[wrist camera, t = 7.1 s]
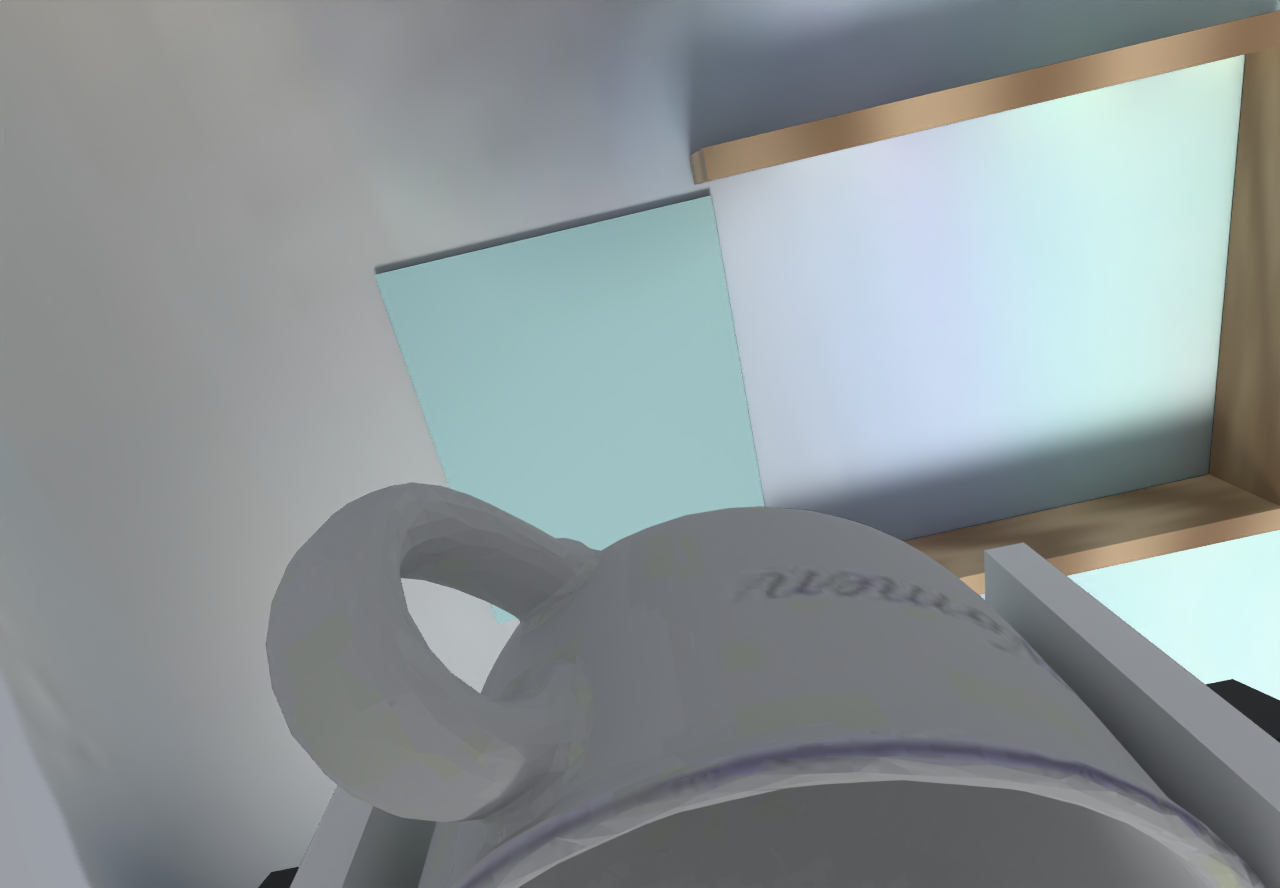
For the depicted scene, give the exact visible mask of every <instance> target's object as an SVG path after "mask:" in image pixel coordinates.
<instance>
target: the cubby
mask: <svg viewBox="0 0 1280 888" xmlns="http://www.w3.org/2000/svg"><path fill="white" fill-rule="evenodd" d="M1243 54H1246V60H1245V71H1244V83H1243V94H1242V105H1241V116H1240V128H1239V139H1238V150H1237V162H1236V173H1235V184H1234V196H1233V207H1232V218H1231V230H1230V241H1229V252H1228V264H1227V275H1226V286H1225V298H1224V309H1223V320H1222V332H1221V343H1220V354H1219V366H1218V377H1217V388H1216V399H1215V411H1214V422H1213V433H1212V445H1211V456H1210V467H1209V474H1208V475H1203V476H1199V477H1194V478H1190V479H1185V480H1181V481H1176V482H1171V483H1167V484H1162V485H1158V486H1153V487H1149V488H1144V489H1140V490H1135V491H1130V492H1126V493H1121V494H1117V495H1112V496H1108V497H1103V498H1098V499H1094V500H1089V501H1085V502H1080V503H1076V504H1071V505H1067V506H1062V507H1057V508H1053V509H1048V510H1044V511H1039V512H1035V513H1030V514H1026V515H1021V516H1016V517H1012V518H1007V519H1003V520H998V521H994V522H989V523H984V524H980V525H975V526H971V527H966V528H962V529H957V530H953V531H948V532H943V533H939V534H934V535H930V536H925V537H921V538H916V539H911V540H907V541H903V542H905V543H907V544H909V545H910V546H912V547H914V548H916V549H917V550H919V551H921V552H923V553H924V554H926V555H927V556H929V557H930V558H932V559H933V560H935V561H936V562H938V563H939V564H941V565H942V566H943V567H945V568H946V569H948V570H949V571H951V572H952V573H953V574H954V575H955V576H957V577H958V578H959V579H960V580H961V581H963V582H964V583H965V584H966V585H968V586H969V587H970V588H971V589H972V590H974V591H975V592H976V593H977V594H978V595H979V594H984V593H985V563H984V550H989V549H993V548H998V547H1003V546H1008V545H1013V544H1018V543H1023V542H1024V543H1025V544H1026V545H1028V546H1029V547H1030V548H1031V549H1033V550H1034V551H1035V552H1036V553H1038V554H1039V555H1040V556H1042V557H1043V558H1044V559H1045V560H1047V561H1048V562H1049V563H1051V564H1052V565H1053V566H1054V567H1056V568H1057V569H1058V570H1059V571H1061V572H1062V573H1063V574H1065V575H1066V576H1067V575H1072V574H1077V573H1081V572H1086V571H1091V570H1095V569H1100V568H1104V567H1109V566H1114V565H1118V564H1123V563H1128V562H1132V561H1137V560H1141V559H1146V558H1151V557H1155V556H1160V555H1165V554H1169V553H1174V552H1178V551H1183V550H1188V549H1192V548H1197V547H1202V546H1206V545H1211V544H1215V543H1220V542H1225V541H1229V540H1234V539H1239V538H1243V537H1248V536H1252V535H1257V534H1262V533H1266V532H1271V531H1276V530H1280V10H1278V11H1274V12H1270V13H1266V14H1262V15H1257V16H1253V17H1249V18H1245V19H1241V20H1236V21H1232V22H1228V23H1224V24H1220V25H1215V26H1211V27H1207V28H1203V29H1199V30H1194V31H1190V32H1186V33H1182V34H1178V35H1174V36H1169V37H1165V38H1161V39H1157V40H1153V41H1148V42H1144V43H1140V44H1136V45H1132V46H1127V47H1123V48H1119V49H1115V50H1111V51H1106V52H1102V53H1098V54H1094V55H1090V56H1086V57H1081V58H1077V59H1073V60H1069V61H1065V62H1060V63H1056V64H1052V65H1048V66H1044V67H1039V68H1035V69H1031V70H1027V71H1023V72H1018V73H1014V74H1010V75H1006V76H1002V77H997V78H993V79H989V80H985V81H981V82H977V83H972V84H968V85H964V86H960V87H956V88H951V89H947V90H943V91H939V92H935V93H930V94H926V95H922V96H918V97H914V98H909V99H905V100H901V101H897V102H893V103H889V104H884V105H880V106H876V107H872V108H868V109H863V110H859V111H855V112H851V113H847V114H842V115H838V116H834V117H830V118H826V119H821V120H817V121H813V122H809V123H805V124H800V125H796V126H792V127H788V128H784V129H780V130H775V131H771V132H767V133H763V134H759V135H754V136H750V137H746V138H742V139H738V140H733V141H729V142H725V143H721V144H717V145H712V146H708V147H704V148H702V149H700V150H698V151H697V152H695V153H694V154H692V155H690V161H691V166H692V172H693V178H694V183H695V184H699V183H703V182H708V181H712V180H716V179H720V178H724V177H729V176H733V175H737V174H741V173H745V172H750V171H754V170H758V169H762V168H767V167H771V166H775V165H779V164H783V163H788V162H792V161H796V160H800V159H805V158H809V157H813V156H817V155H821V154H826V153H830V152H834V151H838V150H843V149H847V148H851V147H855V146H859V145H864V144H868V143H872V142H876V141H880V140H885V139H889V138H893V137H897V136H902V135H906V134H910V133H914V132H918V131H923V130H927V129H931V128H935V127H940V126H944V125H948V124H952V123H956V122H961V121H965V120H969V119H973V118H978V117H982V116H986V115H990V114H994V113H999V112H1003V111H1007V110H1011V109H1015V108H1020V107H1024V106H1028V105H1032V104H1037V103H1041V102H1045V101H1049V100H1053V99H1058V98H1062V97H1066V96H1070V95H1075V94H1079V93H1083V92H1087V91H1091V90H1096V89H1100V88H1104V87H1108V86H1113V85H1117V84H1121V83H1125V82H1129V81H1134V80H1138V79H1142V78H1146V77H1150V76H1155V75H1159V74H1163V73H1167V72H1172V71H1176V70H1180V69H1184V68H1188V67H1193V66H1197V65H1201V64H1205V63H1210V62H1214V61H1218V60H1222V59H1226V58H1231V57H1235V56H1239V55H1243Z"/></svg>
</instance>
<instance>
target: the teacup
mask: <svg viewBox="0 0 1280 888" xmlns="http://www.w3.org/2000/svg"><path fill="white" fill-rule="evenodd" d="M400 578H408V579H419V580H426V581H429V582H433V583H436V584H440V585H443V586H447V587H451V588H454V589H457V590H459V591H462V592H465V593H467V594H470V595H472V596H475V597H477V598H480V599H482V600H485V601H487V602H489V603H491V604H493V605H495V606H497V607H499V608H501V609H503V610H505V611H507V612H509V613H510V614H512V615H513V616H515V617H516V618H518V619H519V620H520V624H519V625H518V627H517V628H516V630H515V631H514V633H513V634H512V636H511V637H510V639H509V640H508V642H507V644H506V645H505V647H504V648H503V650H502V651H501V653H500V655H499V657H498V659H497V661H496V662H495V664H494V666H493V668H492V670H491V672H490V674H489V675H488V677H487V680H486V682H485V685H484V687H483V689H482V692H481V694H480V693H479V692H477V691H476V690H474V689H473V688H472V687H470V686H469V685H468V684H466V683H465V682H463V681H462V680H461V679H459V678H458V677H456V676H455V675H454V674H452V673H451V672H450V671H449V670H448V669H447V667H446V666H445V665H444V664H443V663H442V662H441V661H440V660H439V659H438V658H437V656H436V655H435V654H434V653H433V652H432V651H431V650H430V648H429V647H428V645H427V643H426V641H425V640H424V638H423V636H422V634H421V633H420V631H419V629H418V627H417V626H416V624H415V622H414V621H413V619H412V617H411V615H410V614H409V612H408V609H407V604H406V600H405V596H404V592H403V587H402V583H401V579H400ZM266 650H267V656H268V663H269V670H270V677H271V683H272V689H273V691H274V694H275V696H276V698H277V701H278V703H279V706H280V708H281V710H282V713H283V715H284V718H285V720H286V722H287V725H288V727H289V729H290V732H291V734H292V736H293V737H294V738H295V739H296V740H297V741H298V743H299V744H300V745H301V746H302V747H303V748H304V750H305V751H306V752H307V753H308V754H309V756H310V757H311V758H312V759H313V760H314V761H315V763H316V764H317V765H318V766H319V767H320V768H321V770H322V771H323V772H324V773H325V774H326V775H327V776H328V777H329V778H330V779H331V780H333V781H334V782H335V783H336V784H337V785H339V786H340V787H341V788H342V789H343V790H345V791H346V792H347V793H348V794H349V795H351V796H353V797H355V798H357V799H359V800H361V801H364V802H366V803H368V804H370V805H372V806H375V807H377V808H379V809H381V810H384V811H386V812H388V813H390V814H393V815H396V816H399V817H402V818H410V819H419V820H427V821H436V822H437V823H436V826H435V830H434V833H433V836H432V840H431V843H430V847H429V850H428V854H427V857H426V861H425V864H424V868H423V871H422V875H421V878H420V882H419V885H418V888H1265V886H1264V884H1263V882H1262V880H1261V879H1260V878H1259V877H1258V876H1257V875H1256V874H1255V872H1254V871H1253V870H1252V869H1251V868H1250V867H1249V866H1248V865H1247V864H1246V863H1245V862H1244V861H1243V860H1242V859H1241V858H1240V857H1239V856H1238V855H1237V854H1236V853H1235V852H1234V851H1233V850H1232V849H1230V848H1229V847H1228V846H1227V845H1226V844H1225V843H1224V842H1223V841H1222V840H1221V839H1220V838H1219V837H1218V836H1217V835H1216V834H1215V833H1213V832H1212V831H1211V830H1210V829H1209V828H1208V827H1207V826H1206V825H1205V824H1204V823H1203V822H1201V821H1200V820H1198V819H1197V818H1196V817H1194V816H1193V815H1191V814H1190V813H1189V812H1187V811H1186V810H1184V809H1183V808H1181V807H1180V806H1179V805H1177V804H1176V803H1174V802H1173V801H1172V800H1170V799H1169V798H1168V797H1167V796H1166V795H1165V794H1164V792H1163V791H1162V790H1161V789H1160V788H1159V787H1158V786H1157V785H1156V783H1155V782H1154V781H1153V780H1152V779H1151V778H1150V777H1149V775H1148V774H1147V773H1146V772H1145V771H1144V770H1143V769H1142V767H1141V766H1140V765H1139V764H1138V763H1137V762H1136V761H1135V759H1134V758H1133V757H1132V756H1131V755H1130V754H1129V753H1128V751H1127V750H1126V749H1125V748H1124V747H1123V746H1122V745H1121V743H1120V742H1119V741H1118V740H1117V739H1116V738H1115V737H1114V735H1113V734H1112V733H1111V732H1110V731H1109V730H1108V729H1107V727H1106V726H1105V725H1104V724H1103V723H1102V722H1101V721H1100V719H1099V718H1098V717H1097V716H1096V715H1095V714H1094V713H1093V711H1092V710H1091V709H1090V708H1089V707H1088V706H1087V705H1086V704H1085V703H1084V702H1083V701H1082V700H1081V699H1080V697H1079V696H1078V695H1077V694H1076V693H1075V692H1074V691H1073V690H1072V689H1071V688H1070V687H1069V686H1068V685H1067V684H1066V683H1065V682H1064V681H1063V680H1062V678H1061V677H1060V676H1059V675H1058V674H1057V673H1056V672H1055V671H1054V670H1053V669H1052V668H1051V667H1050V666H1049V665H1048V664H1047V663H1046V662H1045V661H1044V659H1043V658H1042V657H1041V656H1040V655H1039V654H1038V653H1037V652H1036V651H1035V650H1034V649H1033V648H1032V647H1031V646H1030V645H1029V644H1028V643H1027V642H1026V641H1025V639H1024V638H1023V637H1022V636H1021V635H1020V634H1019V633H1018V632H1017V631H1016V630H1015V629H1014V628H1013V627H1012V626H1011V625H1010V624H1008V623H1007V622H1006V621H1005V620H1004V619H1003V618H1002V617H1001V616H1000V615H999V614H998V613H997V612H996V611H995V610H994V609H993V608H992V607H991V606H990V605H989V604H988V603H987V602H986V601H985V600H984V599H983V598H982V597H980V596H979V595H978V594H977V593H976V592H975V591H974V590H972V589H971V588H970V587H969V586H968V585H966V584H965V583H964V582H963V581H961V580H960V579H959V578H958V577H957V576H955V575H954V574H953V573H952V572H951V571H949V570H948V569H946V568H945V567H943V566H942V565H941V564H939V563H938V562H936V561H935V560H933V559H932V558H930V557H929V556H927V555H926V554H924V553H923V552H921V551H919V550H917V549H916V548H914V547H912V546H910V545H909V544H907V543H905V542H903V541H902V540H899V539H897V538H895V537H893V536H891V535H888V534H886V533H884V532H882V531H879V530H877V529H875V528H873V527H870V526H867V525H864V524H861V523H858V522H855V521H851V520H848V519H845V518H841V517H837V516H832V515H828V514H823V513H819V512H814V511H810V510H802V509H790V508H777V507H764V506H757V507H737V508H725V509H719V510H713V511H707V512H701V513H695V514H689V515H684V516H681V517H678V518H675V519H672V520H669V521H666V522H663V523H660V524H657V525H654V526H651V527H648V528H646V529H643V530H641V531H639V532H636V533H634V534H632V535H629V536H627V537H625V538H623V539H621V540H619V541H617V542H615V543H613V544H612V545H610V546H608V547H606V548H605V549H603V550H601V551H600V550H595V549H590V548H589V547H587V546H586V545H585V544H583V543H582V542H580V541H576V540H572V539H568V538H557V539H556V538H554V537H552V536H550V535H549V534H547V533H545V532H543V531H542V530H540V529H538V528H536V527H535V526H533V525H531V524H529V523H527V522H525V521H523V520H521V519H519V518H517V517H515V516H513V515H511V514H509V513H507V512H505V511H503V510H501V509H499V508H497V507H495V506H493V505H491V504H489V503H487V502H484V501H482V500H480V499H478V498H475V497H473V496H471V495H468V494H466V493H462V492H459V491H456V490H452V489H449V488H446V487H442V486H436V485H428V484H419V483H407V484H401V485H395V486H390V487H387V488H384V489H380V490H377V491H374V492H371V493H369V494H367V495H365V496H363V497H361V498H359V499H357V500H354V501H352V502H350V503H348V504H347V505H345V506H344V507H343V508H341V509H340V510H339V511H337V512H336V513H334V514H333V515H332V516H331V517H330V518H329V519H328V520H327V521H326V522H325V523H324V524H323V525H322V526H321V527H320V528H319V529H318V530H317V532H316V533H315V534H314V535H313V536H312V537H311V538H310V539H309V540H308V541H307V542H306V543H305V544H304V545H303V546H302V547H301V548H300V549H299V550H298V551H297V552H296V554H295V555H294V557H293V558H292V560H291V561H290V563H289V564H288V566H287V568H286V570H285V573H284V575H283V577H282V580H281V582H280V584H279V587H278V589H277V591H276V594H275V596H274V598H273V601H272V604H271V611H270V619H269V626H268V633H267V640H266Z"/></svg>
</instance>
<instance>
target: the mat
mask: <svg viewBox="0 0 1280 888" xmlns="http://www.w3.org/2000/svg"><path fill="white" fill-rule="evenodd" d="M374 276H375V279H376V281H377V284H378V287H379V290H380V293H381V295H382V298H383V301H384V304H385V307H386V310H387V312H388V315H389V318H390V321H391V324H392V327H393V329H394V332H395V335H396V338H397V341H398V343H399V346H400V349H401V352H402V355H403V358H404V360H405V363H406V366H407V369H408V372H409V375H410V377H411V380H412V383H413V386H414V389H415V391H416V394H417V397H418V400H419V403H420V406H421V408H422V411H423V414H424V417H425V420H426V423H427V425H428V428H429V431H430V434H431V437H432V439H433V442H434V445H435V448H436V451H437V454H438V456H439V459H440V462H441V465H442V468H443V471H444V473H445V476H446V479H447V482H448V485H449V487H450V489H452V490H456V491H459V492H462V493H466V494H468V495H471V496H473V497H475V498H478V499H480V500H482V501H484V502H487V503H489V504H491V505H493V506H495V507H497V508H499V509H501V510H503V511H505V512H507V513H509V514H511V515H513V516H515V517H517V518H519V519H521V520H523V521H525V522H527V523H529V524H531V525H533V526H535V527H536V528H538V529H540V530H542V531H543V532H545V533H547V534H549V535H550V536H552V537H554V538H556V539H557V538H568V539H572V540H576V541H580V542H582V543H583V544H585V545H586V546H587V547H589V548H590V549H595V550H600V551H601V550H603V549H605V548H606V547H608V546H610V545H612V544H613V543H615V542H617V541H619V540H621V539H623V538H625V537H627V536H629V535H632V534H634V533H636V532H639V531H641V530H643V529H646V528H648V527H651V526H654V525H657V524H660V523H663V522H666V521H669V520H672V519H675V518H678V517H681V516H684V515H689V514H695V513H701V512H707V511H713V510H719V509H725V508H737V507H757V506H764V500H763V494H762V488H761V482H760V477H759V471H758V465H757V459H756V453H755V447H754V442H753V436H752V430H751V424H750V418H749V413H748V407H747V401H746V395H745V389H744V384H743V378H742V372H741V366H740V360H739V355H738V349H737V343H736V337H735V331H734V325H733V320H732V314H731V308H730V302H729V296H728V291H727V285H726V279H725V273H724V267H723V262H722V256H721V250H720V244H719V238H718V233H717V227H716V221H715V215H714V209H713V203H712V198H711V195H710V196H706V197H702V198H697V199H693V200H689V201H685V202H680V203H676V204H672V205H668V206H664V207H659V208H655V209H651V210H647V211H642V212H638V213H634V214H630V215H625V216H621V217H617V218H613V219H609V220H604V221H600V222H596V223H592V224H587V225H583V226H579V227H575V228H570V229H566V230H562V231H558V232H554V233H549V234H545V235H541V236H537V237H532V238H528V239H524V240H520V241H515V242H511V243H507V244H503V245H499V246H494V247H490V248H486V249H482V250H477V251H473V252H469V253H465V254H460V255H456V256H452V257H448V258H444V259H439V260H435V261H431V262H427V263H422V264H418V265H414V266H410V267H405V268H401V269H397V270H393V271H389V272H384V273H380V274H376V275H374ZM764 507H765V506H764ZM491 606H492V609H493V612H494V615H495V617H496V620H497V623H501V622H505V621H510V620H514V619H518V618H516V617H515V616H513V615H512V614H510V613H509V612H507V611H505V610H503V609H501V608H499V607H497V606H495V605H493V604H491Z"/></svg>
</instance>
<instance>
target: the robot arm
mask: <svg viewBox="0 0 1280 888" xmlns="http://www.w3.org/2000/svg"><path fill="white" fill-rule="evenodd" d="M984 563H985V601H986V602H987V603H988V604H989V605H990V606H991V607H992V608H993V609H994V610H995V611H996V612H997V613H998V614H999V615H1000V616H1001V617H1002V618H1003V619H1004V620H1005V621H1006V622H1007V623H1008V624H1010V625H1011V626H1012V627H1013V628H1014V629H1015V630H1016V631H1017V632H1018V633H1019V634H1020V635H1021V636H1022V637H1023V638H1024V639H1025V641H1026V642H1027V643H1028V644H1029V645H1030V646H1031V647H1032V648H1033V649H1034V650H1035V651H1036V652H1037V653H1038V654H1039V655H1040V656H1041V657H1042V658H1043V659H1044V661H1045V662H1046V663H1047V664H1048V665H1049V666H1050V667H1051V668H1052V669H1053V670H1054V671H1055V672H1056V673H1057V674H1058V675H1059V676H1060V677H1061V678H1062V680H1063V681H1064V682H1065V683H1066V684H1067V685H1068V686H1069V687H1070V688H1071V689H1072V690H1073V691H1074V692H1075V693H1076V694H1077V695H1078V696H1079V697H1080V699H1081V700H1082V701H1083V702H1084V703H1085V704H1086V705H1087V706H1088V707H1089V708H1090V709H1091V710H1092V711H1093V713H1094V714H1095V715H1096V716H1097V717H1098V718H1099V719H1100V721H1101V722H1102V723H1103V724H1104V725H1105V726H1106V727H1107V729H1108V730H1109V731H1110V732H1111V733H1112V734H1113V735H1114V737H1115V738H1116V739H1117V740H1118V741H1119V742H1120V743H1121V745H1122V746H1123V747H1124V748H1125V749H1126V750H1127V751H1128V753H1129V754H1130V755H1131V756H1132V757H1133V758H1134V759H1135V761H1136V762H1137V763H1138V764H1139V765H1140V766H1141V767H1142V769H1143V770H1144V771H1145V772H1146V773H1147V774H1148V775H1149V777H1150V778H1151V779H1152V780H1153V781H1154V782H1155V783H1156V785H1157V786H1158V787H1159V788H1160V789H1161V790H1162V791H1163V792H1164V794H1165V795H1166V796H1167V797H1168V798H1169V799H1170V800H1172V801H1173V802H1174V803H1176V804H1177V805H1179V806H1180V807H1181V808H1183V809H1184V810H1186V811H1187V812H1189V813H1190V814H1191V815H1193V816H1194V817H1196V818H1197V819H1198V820H1200V821H1201V822H1203V823H1204V824H1205V825H1206V826H1207V827H1208V828H1209V829H1210V830H1211V831H1212V832H1213V833H1215V834H1216V835H1217V836H1218V837H1219V838H1220V839H1221V840H1222V841H1223V842H1224V843H1225V844H1226V845H1227V846H1228V847H1229V848H1230V849H1232V850H1233V851H1234V852H1235V853H1236V854H1237V855H1238V856H1239V857H1240V858H1241V859H1242V860H1243V861H1244V862H1245V863H1246V864H1247V865H1248V866H1249V867H1250V868H1251V869H1252V870H1253V871H1254V872H1255V874H1256V875H1257V876H1258V877H1259V878H1260V879H1261V880H1262V882H1263V884H1264V886H1265V888H1280V700H1278V699H1275V698H1273V697H1271V696H1269V695H1267V694H1264V693H1262V692H1260V691H1258V690H1255V689H1253V688H1251V687H1249V686H1247V685H1244V684H1242V683H1240V682H1238V681H1236V680H1233V679H1231V680H1226V681H1221V682H1216V683H1211V684H1206V685H1205V684H1204V683H1203V682H1201V681H1200V680H1199V679H1197V678H1196V677H1195V676H1194V675H1192V674H1191V673H1190V672H1188V671H1187V670H1186V669H1185V668H1183V667H1182V666H1181V665H1180V664H1178V663H1177V662H1176V661H1174V660H1173V659H1172V658H1171V657H1169V656H1168V655H1167V654H1165V653H1164V652H1163V651H1162V650H1160V649H1159V648H1158V647H1157V646H1155V645H1154V644H1153V643H1151V642H1150V641H1149V640H1148V639H1146V638H1145V637H1144V636H1142V635H1141V634H1140V633H1139V632H1137V631H1136V630H1135V629H1134V628H1132V627H1131V626H1130V625H1128V624H1127V623H1126V622H1125V621H1123V620H1122V619H1121V618H1120V617H1118V616H1117V615H1116V614H1114V613H1113V612H1112V611H1111V610H1109V609H1108V608H1107V607H1105V606H1104V605H1103V604H1102V603H1100V602H1099V601H1098V600H1097V599H1095V598H1094V597H1093V596H1091V595H1090V594H1089V593H1088V592H1086V591H1085V590H1084V589H1082V588H1081V587H1080V586H1079V585H1077V584H1076V583H1075V582H1074V581H1072V580H1071V579H1070V578H1068V577H1067V576H1066V575H1065V574H1063V573H1062V572H1061V571H1059V570H1058V569H1057V568H1056V567H1054V566H1053V565H1052V564H1051V563H1049V562H1048V561H1047V560H1045V559H1044V558H1043V557H1042V556H1040V555H1039V554H1038V553H1036V552H1035V551H1034V550H1033V549H1031V548H1030V547H1029V546H1028V545H1026V544H1025V543H1024V542H1023V543H1018V544H1013V545H1008V546H1003V547H998V548H993V549H989V550H984ZM436 823H437V822H436V821H427V820H419V819H410V818H402V817H399V816H396V815H393V814H390V813H388V812H386V811H384V810H381V809H379V808H377V807H375V806H372V805H370V804H368V803H366V802H364V801H361V800H359V799H357V798H355V797H353V796H351V795H349V794H348V793H347V792H346V791H345V790H343V789H342V788H341V787H340V786H339V785H337V787H336V789H335V791H334V794H333V796H332V798H331V800H330V802H329V804H328V807H327V809H326V811H325V813H324V815H323V817H322V819H321V822H320V824H319V826H318V828H317V830H316V832H315V835H314V837H313V839H312V841H311V843H310V845H309V847H308V850H307V852H306V854H305V856H304V858H303V860H302V862H301V865H300V867H295V868H290V869H285V870H280V871H275V872H271V873H270V874H269V876H268V877H267V878H266V879H265V880H264V882H263V883H262V884H261V885H260V886H259V887H258V888H418V885H419V882H420V878H421V875H422V871H423V868H424V864H425V861H426V857H427V854H428V850H429V847H430V843H431V840H432V836H433V833H434V830H435V826H436Z"/></svg>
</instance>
